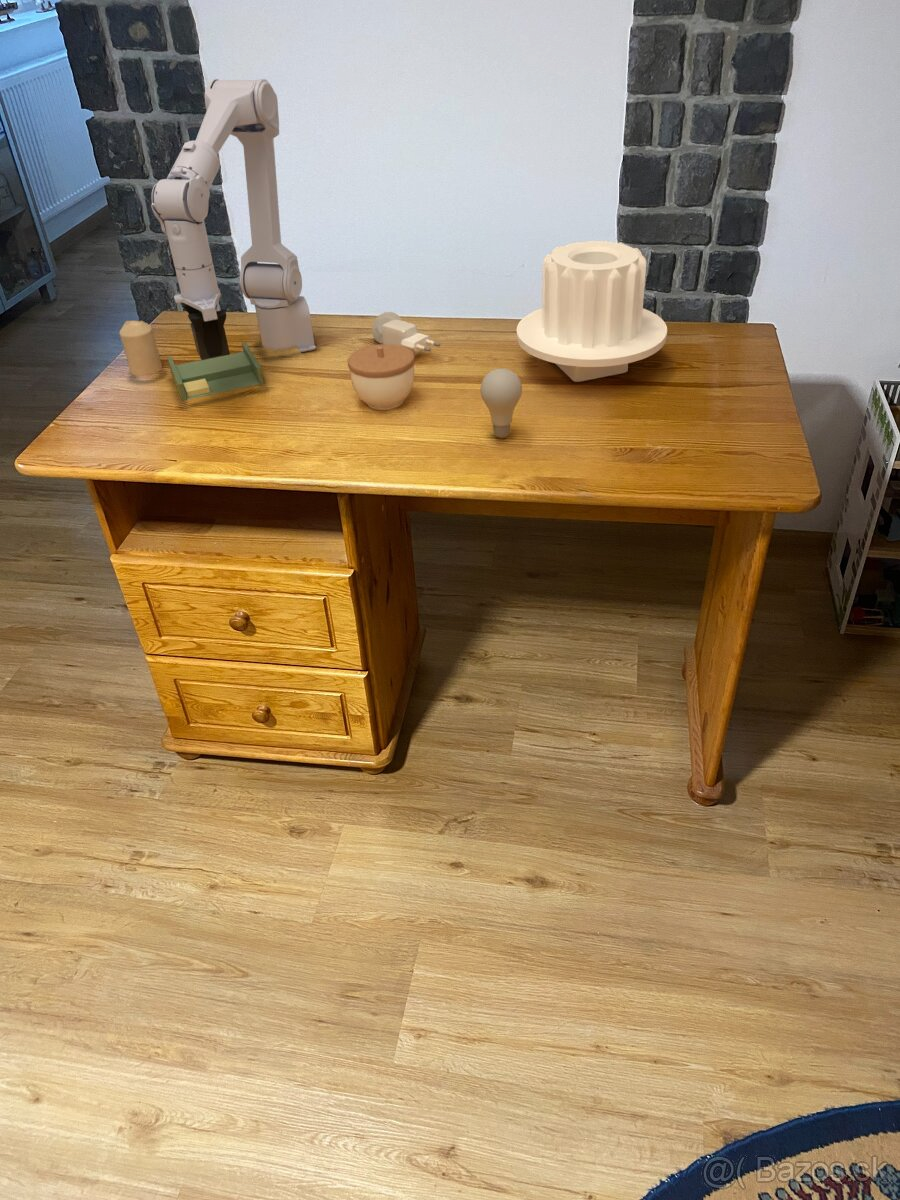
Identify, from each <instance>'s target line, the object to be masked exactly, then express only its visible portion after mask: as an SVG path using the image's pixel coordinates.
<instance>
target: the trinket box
mask: <svg viewBox="0 0 900 1200" xmlns="http://www.w3.org/2000/svg"><path fill="white" fill-rule="evenodd" d="M347 367H348V370H349V376H350V381H351V385H352V387H353V390H354V392H355V393H356V395H357V396H358V398H359V399H360V400H361V401H362V402H364V403H365V404H366V405H367V406H368V407H369V408H370V409H372V410H375V411H376V410H377V411H388V410H393V409H396V408H398V407H400V406H401V405H403V404H404V401H405V400H406V399H407V397H408V396H409V395H410V394H411V392H412V389H413V387H414V381H415V356H414V354H413V352H412V351H411V350H410V349H408V348H406V347H403V346H399V345H392V344H374V345H369V346H364V347H362V348H359V349H357V350H355V351H354V352H352V353H351V354H350V355H349V356H348V358H347Z"/></svg>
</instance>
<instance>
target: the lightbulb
mask: <svg viewBox="0 0 900 1200" xmlns="http://www.w3.org/2000/svg"><path fill="white" fill-rule="evenodd" d="M522 393H523V386H522V382H521V378H520V377H519V376H518V375H517V374H516V373H515V372H514V371H513V370H510V369H508V368H504V367H503V368H502V367H501V368H495V369H492V370H491V371H489V372H487V374H486V375H485V376H484V377H483V379H482V380H481V384H480V395H481V396H480V397H481V400H482V401H483V403H484V404H485V406H486V408H487V409H488V411H489V414H490V422H491V424H492V429H493V430H492V431H493V435H494V436H495V437H496V438H498V439H505V438H506V437H509V436H510V434H511V425H512V424H511V423H512V422H513V416H514V415H513V414H514V411H515V408H516V407H517V405H518V403H519V401H520V399H521V397H522Z"/></svg>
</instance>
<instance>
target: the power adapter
mask: <svg viewBox="0 0 900 1200" xmlns="http://www.w3.org/2000/svg"><path fill="white" fill-rule="evenodd" d="M382 337H383V344H392V345H399V346H403V347H406V348H408V349H410V350H411V351H412V352H413V354H414V357H416V356H417V355H419V351H425V352H428V353H430V352H431V351H432V349H431V348H430V347H429V346H430V345H432V346H434V347H438V348H440V347H441V343H440V342H438V341H434V340H432V337H431V336H430V335H427V334H425V333H421V332H418V327H417V325H416V324H415V323H411V322H409V321H405V320H403V319H402V320H398V319H394V320H391V321H389V322H387V323H385V324H383V326H382Z"/></svg>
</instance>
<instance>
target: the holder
mask: <svg viewBox="0 0 900 1200" xmlns="http://www.w3.org/2000/svg"><path fill="white" fill-rule="evenodd" d="M190 328H191V333H192V337H193V341H194V344H195V345H194V346H195V349H196V353H197V354H198V356H199V358H200V360H206V359H211V358H216V357H220V356H225V355H230V354H231V352H230V347H229V343H228V338H227V333H226V328H225V326H224V327H223V353H222V355H218V356H213V357H209V355H208V353H207V351H206V349H205V346H204V344H203V341H202V339H201V336H200V334H199V332H198V330H197V329H196V328H195V326H194V325H193V324H192V323H191V322H190Z"/></svg>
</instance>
